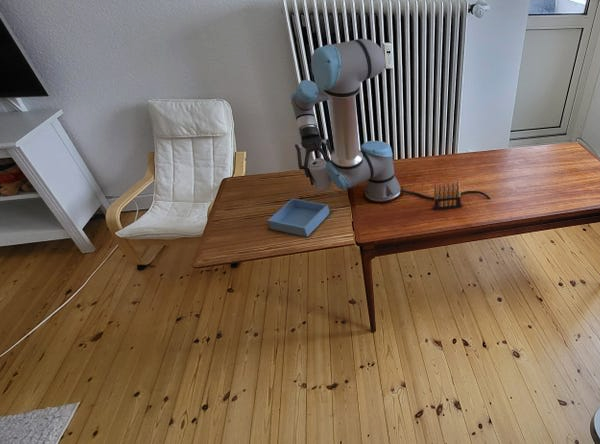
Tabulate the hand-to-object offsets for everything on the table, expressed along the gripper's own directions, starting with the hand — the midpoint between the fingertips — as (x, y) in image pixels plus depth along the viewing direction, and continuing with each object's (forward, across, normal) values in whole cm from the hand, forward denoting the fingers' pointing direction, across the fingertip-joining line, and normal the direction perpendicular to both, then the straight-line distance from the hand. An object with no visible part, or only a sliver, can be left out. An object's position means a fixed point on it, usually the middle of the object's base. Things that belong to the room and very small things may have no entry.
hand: (322, 182), depth 151 cm
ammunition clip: (+24, -45, +10) cm, 52 cm away
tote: (+13, +12, 0) cm, 18 cm away
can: (+1, 0, -6) cm, 6 cm away
